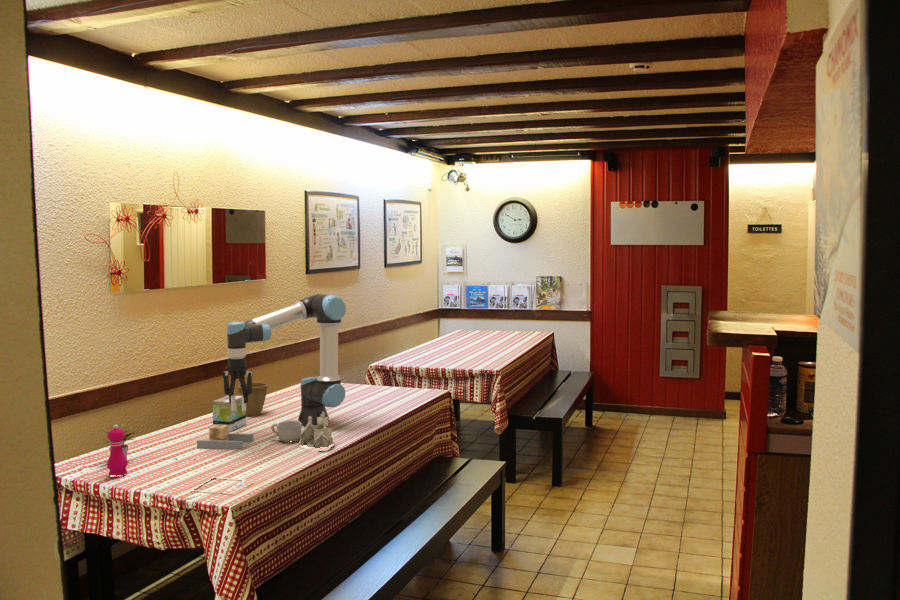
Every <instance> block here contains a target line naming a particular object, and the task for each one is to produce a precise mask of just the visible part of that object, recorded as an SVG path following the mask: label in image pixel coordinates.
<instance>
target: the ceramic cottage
mask: <svg viewBox="0 0 900 600" xmlns="http://www.w3.org/2000/svg"><path fill="white" fill-rule="evenodd" d="M300 435H301V437H300V440H299V441H298V445H302V446H303V445H307V446H308V447H315V448H320V447H328V446H329V445H331V444H333V443H334V444H335V442H334V439H333V436H332V430H331V428H330V427H329V422H328V417H325V413H324V412H322V414H321V415H320V417H317V425H312V417H311V416H309V417H308V424H307V425H306V426H304V428H303V429H301V434H300Z"/></svg>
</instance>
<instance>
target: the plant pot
mask: <svg viewBox="0 0 900 600" xmlns="http://www.w3.org/2000/svg"><path fill="white" fill-rule="evenodd" d="M245 383H246V387H247V382H245ZM237 387H238V394H239V395H238V396H243V392H242V388H241V384H238V386H237ZM267 389H268V384H267V383H265V382H252V393H251V394H249V395H248V402H247V403H246V417H258V416H260V415H261V414H262V411H263V408H264V405H265V403H266V402H265V401H266V396H267V391H268V390H267Z"/></svg>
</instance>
